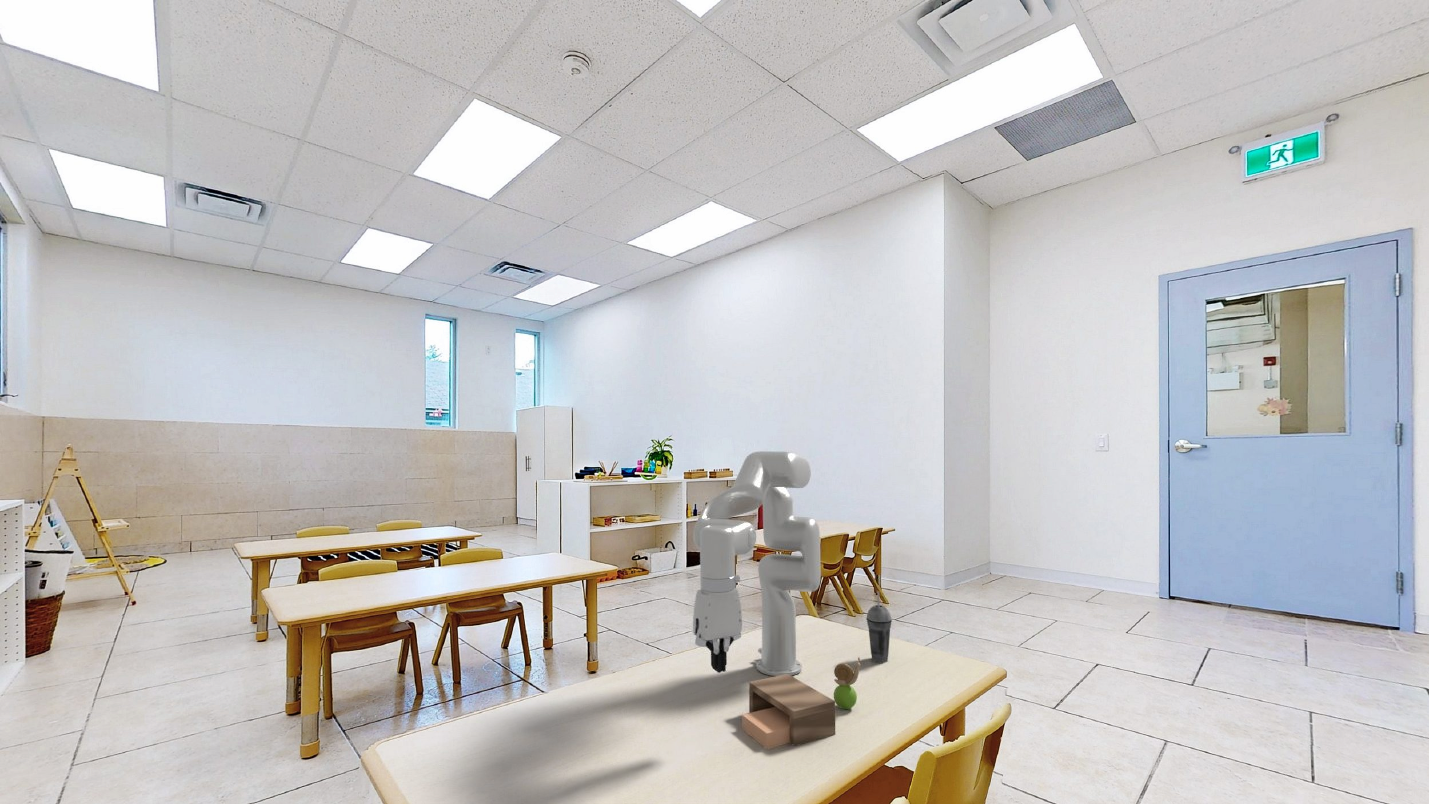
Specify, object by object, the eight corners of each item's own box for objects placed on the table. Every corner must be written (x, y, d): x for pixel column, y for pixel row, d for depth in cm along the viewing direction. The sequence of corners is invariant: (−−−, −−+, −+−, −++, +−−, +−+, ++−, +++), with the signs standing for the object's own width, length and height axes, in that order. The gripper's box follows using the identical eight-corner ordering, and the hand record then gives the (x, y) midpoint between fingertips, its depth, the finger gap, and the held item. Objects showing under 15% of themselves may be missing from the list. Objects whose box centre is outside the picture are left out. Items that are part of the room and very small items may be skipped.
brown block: (749, 712, 144) (749, 682, 145) (787, 703, 149) (787, 673, 150) (794, 746, 128) (793, 711, 129) (835, 734, 133) (835, 701, 134)
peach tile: (742, 731, 136) (742, 714, 136) (793, 717, 143) (793, 702, 143) (767, 751, 127) (766, 733, 127) (820, 735, 134) (820, 719, 134)
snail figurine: (861, 714, 143) (860, 661, 144) (833, 711, 144) (833, 659, 145) (860, 704, 149) (860, 654, 149) (833, 702, 150) (833, 652, 151)
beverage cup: (893, 657, 181) (892, 588, 183) (892, 665, 174) (890, 594, 176) (868, 654, 184) (867, 586, 185) (865, 662, 177) (864, 592, 178)
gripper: (738, 575, 139) (739, 657, 138) (679, 584, 132) (679, 670, 131) (756, 583, 132) (757, 669, 132) (694, 592, 125) (695, 683, 125)
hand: (718, 669), depth 131 cm, fingers closed
